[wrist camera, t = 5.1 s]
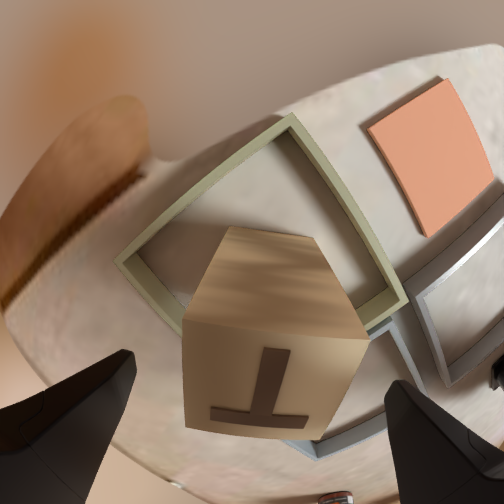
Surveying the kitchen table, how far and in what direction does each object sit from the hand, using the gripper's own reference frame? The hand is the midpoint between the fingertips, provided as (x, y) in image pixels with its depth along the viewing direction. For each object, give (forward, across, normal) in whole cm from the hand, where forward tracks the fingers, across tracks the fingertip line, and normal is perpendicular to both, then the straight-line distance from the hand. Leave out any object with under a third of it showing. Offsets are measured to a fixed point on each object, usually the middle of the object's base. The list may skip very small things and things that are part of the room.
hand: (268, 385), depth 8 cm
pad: (+9, -10, -10) cm, 17 cm away
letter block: (+9, 0, 0) cm, 9 cm away
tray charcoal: (+10, -19, 0) cm, 21 cm away
